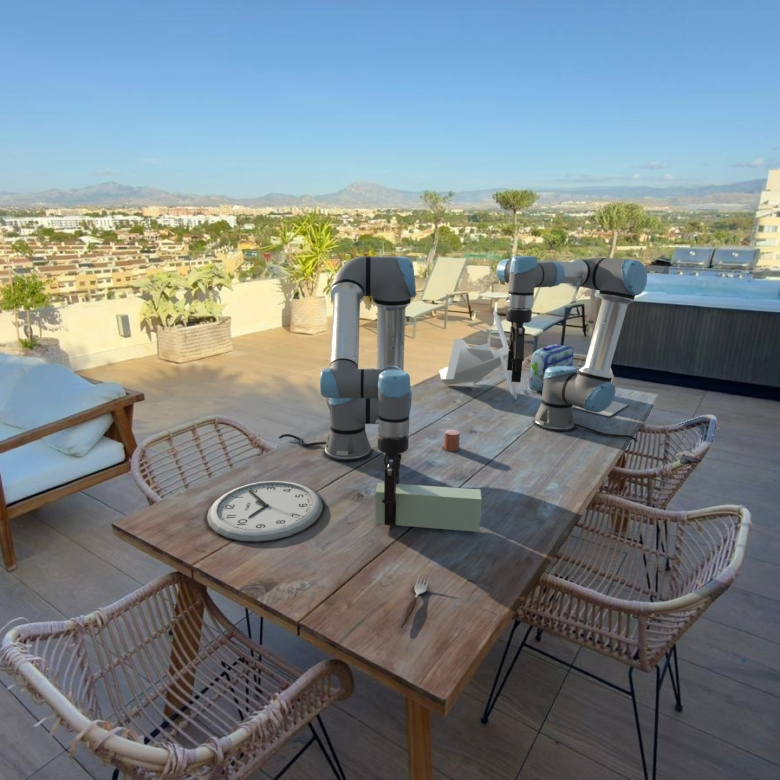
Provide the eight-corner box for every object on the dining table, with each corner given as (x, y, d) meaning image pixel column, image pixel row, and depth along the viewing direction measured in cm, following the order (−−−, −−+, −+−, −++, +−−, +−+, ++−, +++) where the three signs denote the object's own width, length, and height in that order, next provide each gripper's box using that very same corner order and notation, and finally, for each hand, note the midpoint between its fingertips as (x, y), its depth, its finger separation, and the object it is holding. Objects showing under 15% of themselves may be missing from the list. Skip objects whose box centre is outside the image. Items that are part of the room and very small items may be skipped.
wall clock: (320, 533, 126) (192, 537, 124) (320, 539, 127) (193, 543, 124) (324, 476, 155) (220, 479, 152) (324, 481, 155) (221, 484, 153)
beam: (478, 520, 134) (480, 489, 131) (479, 531, 129) (481, 499, 127) (377, 513, 137) (378, 482, 134) (375, 523, 132) (375, 491, 129)
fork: (394, 628, 99) (394, 619, 99) (419, 578, 113) (419, 570, 113) (407, 632, 98) (408, 623, 98) (430, 581, 113) (431, 573, 112)
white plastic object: (461, 429, 252) (437, 405, 227) (444, 352, 274) (420, 323, 250) (535, 404, 240) (518, 377, 215) (510, 326, 262) (492, 293, 237)
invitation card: (608, 416, 214) (573, 407, 224) (608, 416, 214) (573, 408, 224) (628, 404, 229) (594, 396, 238) (628, 405, 229) (594, 397, 238)
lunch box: (545, 397, 238) (550, 352, 231) (524, 391, 245) (529, 348, 239) (572, 386, 255) (578, 344, 249) (552, 381, 262) (557, 340, 256)
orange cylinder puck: (458, 445, 183) (459, 430, 181) (458, 451, 178) (459, 435, 177) (444, 445, 184) (445, 429, 182) (444, 450, 179) (444, 434, 177)
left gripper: (382, 420, 136) (381, 499, 143) (372, 447, 119) (371, 536, 126) (411, 421, 135) (409, 501, 142) (405, 450, 118) (402, 539, 125)
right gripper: (503, 302, 171) (498, 365, 177) (511, 314, 147) (504, 386, 153) (526, 303, 170) (520, 366, 176) (538, 315, 146) (531, 387, 153)
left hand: (391, 518), depth 134 cm, fingers closed on beam, 5 cm apart
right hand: (513, 375), depth 165 cm, fingers open, 13 cm apart
